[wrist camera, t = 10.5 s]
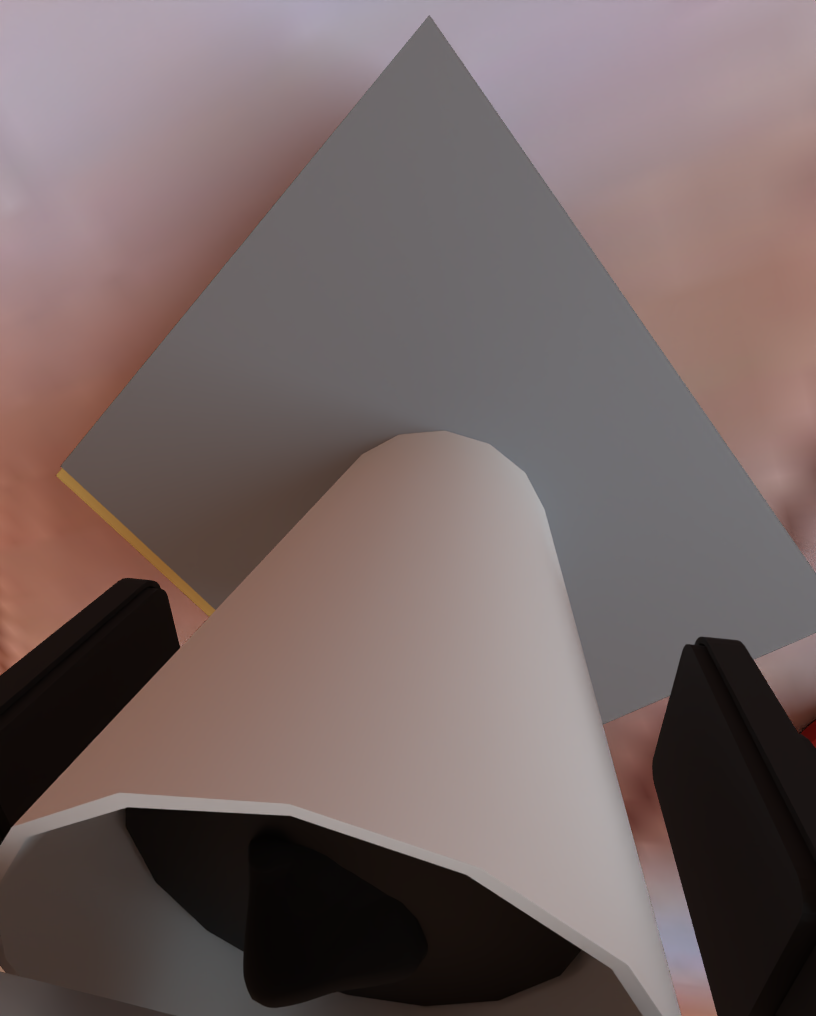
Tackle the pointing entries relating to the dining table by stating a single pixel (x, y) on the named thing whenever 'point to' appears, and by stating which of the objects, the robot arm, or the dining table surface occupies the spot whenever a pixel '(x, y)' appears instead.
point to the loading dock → (444, 389)
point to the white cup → (356, 783)
